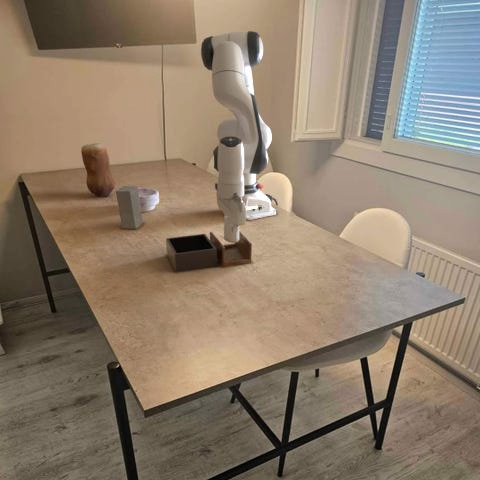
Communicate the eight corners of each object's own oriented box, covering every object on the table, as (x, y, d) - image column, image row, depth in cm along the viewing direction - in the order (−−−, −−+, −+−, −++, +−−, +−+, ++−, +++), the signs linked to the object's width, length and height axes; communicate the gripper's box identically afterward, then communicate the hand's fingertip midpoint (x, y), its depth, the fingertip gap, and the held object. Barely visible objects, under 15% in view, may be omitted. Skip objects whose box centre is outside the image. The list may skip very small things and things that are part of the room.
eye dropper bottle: (229, 244, 150) (228, 211, 144) (222, 238, 155) (222, 206, 148) (240, 242, 152) (240, 209, 145) (233, 236, 156) (233, 204, 149)
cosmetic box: (136, 230, 176) (131, 192, 168) (120, 228, 178) (114, 190, 169) (144, 223, 183) (139, 186, 175) (128, 221, 185) (123, 184, 176)
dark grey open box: (205, 250, 161) (204, 233, 157) (217, 266, 149) (216, 248, 146) (167, 255, 156) (165, 238, 153) (176, 272, 145) (174, 254, 141)
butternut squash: (94, 191, 219) (85, 140, 206) (120, 192, 219) (112, 140, 205) (85, 200, 208) (74, 146, 194) (112, 201, 207) (104, 146, 194)
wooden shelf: (237, 246, 164) (237, 228, 160) (251, 262, 152) (252, 243, 148) (209, 250, 161) (209, 231, 157) (222, 267, 149) (221, 247, 145)
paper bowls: (147, 201, 208) (146, 185, 203) (166, 209, 199) (164, 192, 194) (120, 208, 199) (117, 191, 194) (138, 216, 190) (136, 199, 185)
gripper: (251, 198, 136) (250, 238, 144) (230, 180, 152) (230, 217, 160) (232, 200, 134) (232, 241, 142) (213, 182, 150) (214, 219, 158)
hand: (231, 228), depth 151 cm, fingers closed on eye dropper bottle, 5 cm apart
